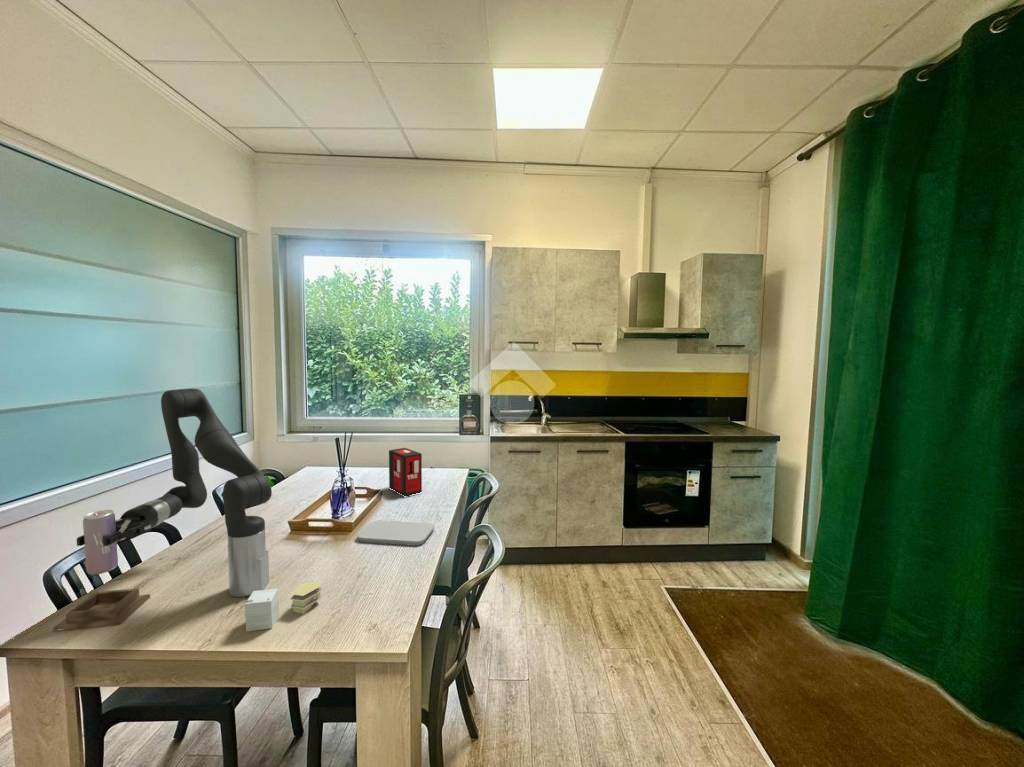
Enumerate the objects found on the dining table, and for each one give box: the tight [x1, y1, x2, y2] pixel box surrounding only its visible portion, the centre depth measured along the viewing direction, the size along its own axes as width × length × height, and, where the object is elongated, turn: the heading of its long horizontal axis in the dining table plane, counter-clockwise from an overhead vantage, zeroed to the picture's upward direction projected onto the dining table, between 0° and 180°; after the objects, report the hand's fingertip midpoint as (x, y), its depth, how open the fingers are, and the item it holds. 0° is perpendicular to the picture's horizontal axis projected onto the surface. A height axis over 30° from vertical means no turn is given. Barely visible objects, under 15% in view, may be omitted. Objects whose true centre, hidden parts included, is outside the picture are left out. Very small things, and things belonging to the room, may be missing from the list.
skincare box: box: [244, 588, 280, 632], centre depth 108 cm, size 6×6×7 cm
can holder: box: [53, 587, 151, 631], centre depth 111 cm, size 14×12×4 cm
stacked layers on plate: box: [290, 581, 323, 615], centre depth 115 cm, size 10×9×6 cm
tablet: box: [356, 519, 435, 546], centre depth 161 cm, size 16×26×2 cm, turn 83°
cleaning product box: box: [388, 447, 423, 497], centre depth 212 cm, size 16×9×20 cm, turn 43°
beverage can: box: [82, 509, 119, 576], centre depth 110 cm, size 6×6×15 cm
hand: (91, 542), depth 108 cm, fingers closed on beverage can, 6 cm apart
